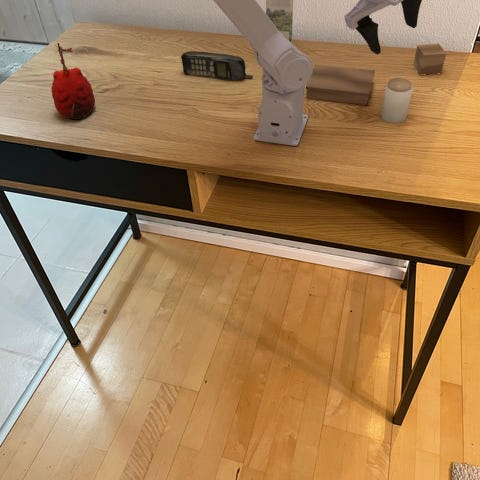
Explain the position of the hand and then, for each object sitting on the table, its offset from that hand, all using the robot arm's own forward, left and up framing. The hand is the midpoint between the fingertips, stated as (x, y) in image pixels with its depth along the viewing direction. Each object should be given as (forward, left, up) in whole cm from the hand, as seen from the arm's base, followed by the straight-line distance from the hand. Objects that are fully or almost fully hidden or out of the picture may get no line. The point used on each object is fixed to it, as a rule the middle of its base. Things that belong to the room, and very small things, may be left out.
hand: (393, 38), depth 88 cm
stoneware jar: (-5, -2, -12) cm, 13 cm away
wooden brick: (+2, +9, -12) cm, 15 cm away
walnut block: (+14, -7, -12) cm, 20 cm away
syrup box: (+17, +25, -12) cm, 32 cm away
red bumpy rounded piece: (-17, +57, -12) cm, 60 cm away
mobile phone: (+2, +34, -12) cm, 36 cm away
